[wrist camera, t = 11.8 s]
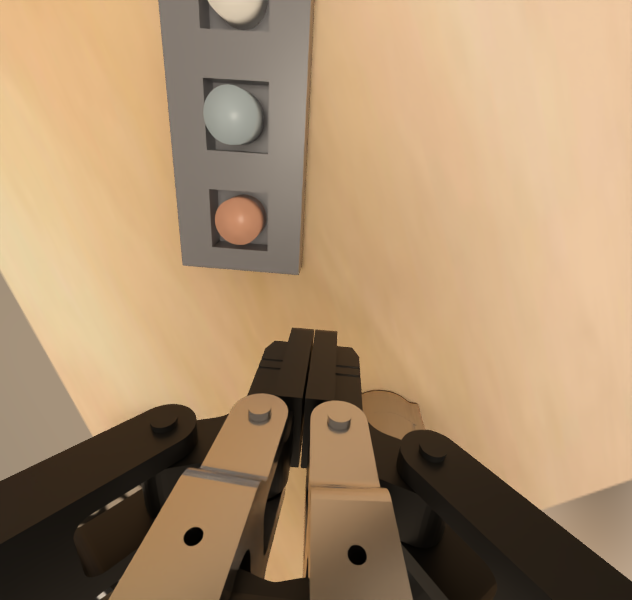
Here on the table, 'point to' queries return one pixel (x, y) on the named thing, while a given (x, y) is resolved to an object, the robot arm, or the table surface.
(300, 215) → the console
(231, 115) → the slate button
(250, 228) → the terracotta button
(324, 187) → the table surface
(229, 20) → the offwhite button
